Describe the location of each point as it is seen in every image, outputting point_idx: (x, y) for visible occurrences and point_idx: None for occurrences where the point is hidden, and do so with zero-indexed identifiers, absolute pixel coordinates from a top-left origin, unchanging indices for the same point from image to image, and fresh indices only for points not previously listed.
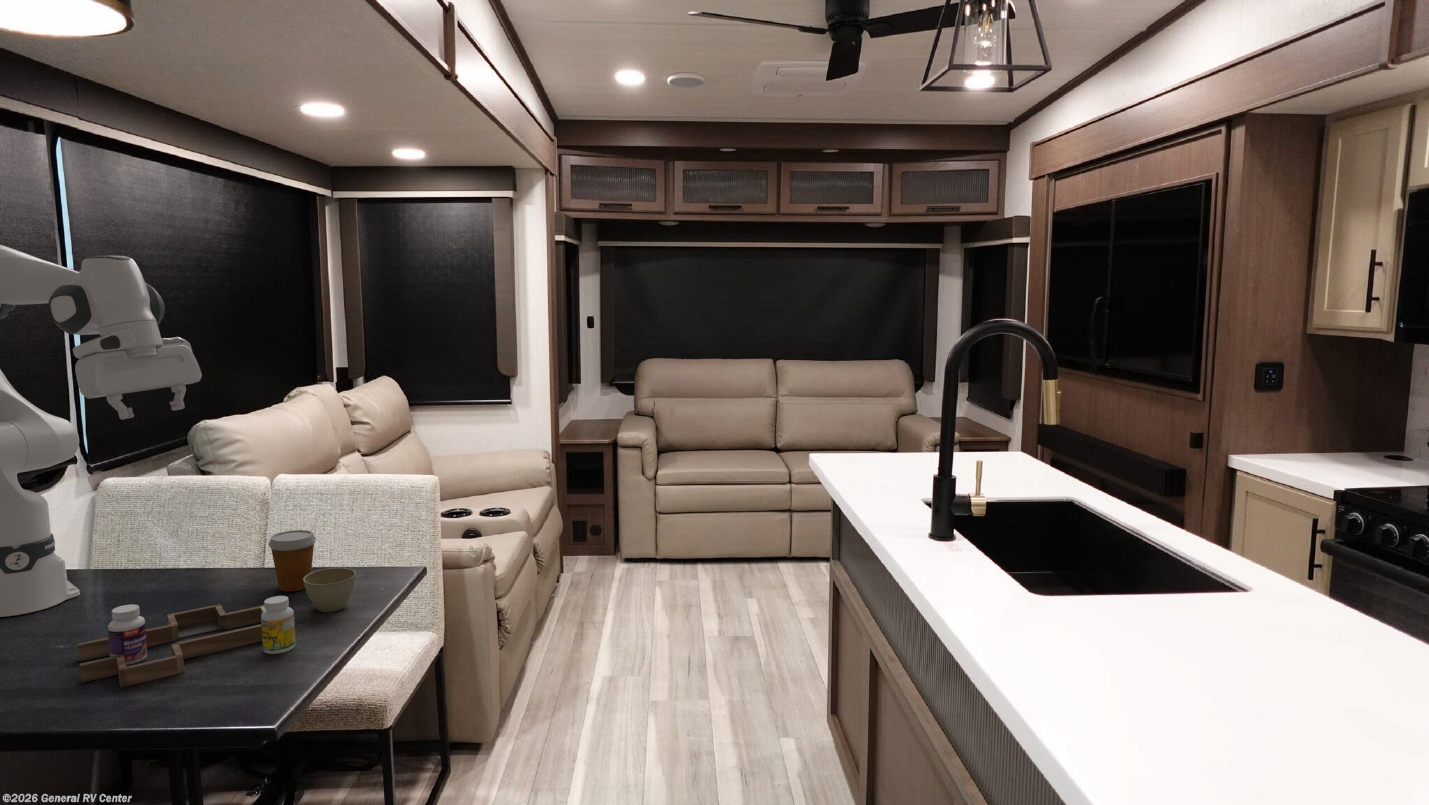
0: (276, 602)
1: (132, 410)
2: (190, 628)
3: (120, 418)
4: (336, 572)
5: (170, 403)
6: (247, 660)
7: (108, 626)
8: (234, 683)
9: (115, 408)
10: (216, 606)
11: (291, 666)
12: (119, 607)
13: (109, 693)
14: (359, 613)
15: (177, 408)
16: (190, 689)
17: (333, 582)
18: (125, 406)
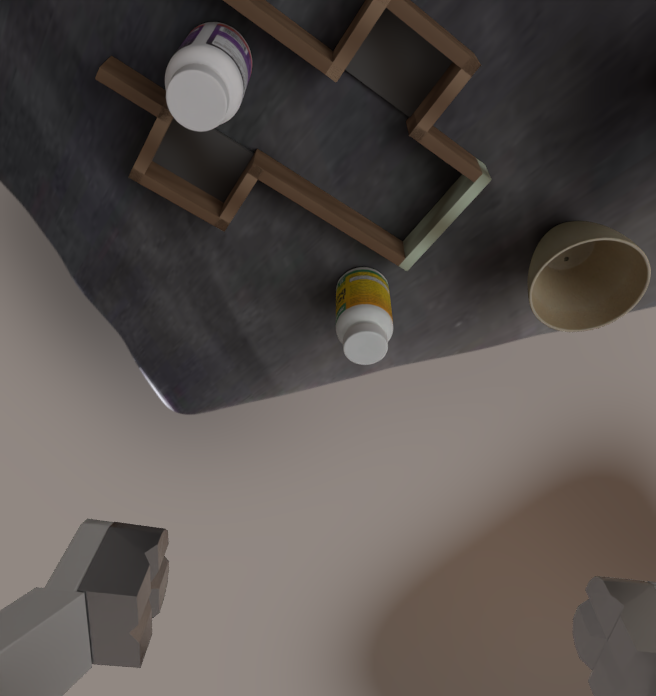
0: (352, 357)
1: (148, 638)
2: (392, 43)
3: (84, 525)
4: (641, 263)
5: (626, 638)
6: (306, 273)
7: (167, 68)
8: (236, 312)
9: (13, 611)
10: (463, 70)
11: (313, 343)
12: (192, 80)
13: (115, 162)
14: None
15: (577, 630)
16: (192, 271)
17: (626, 247)
18: (71, 682)
